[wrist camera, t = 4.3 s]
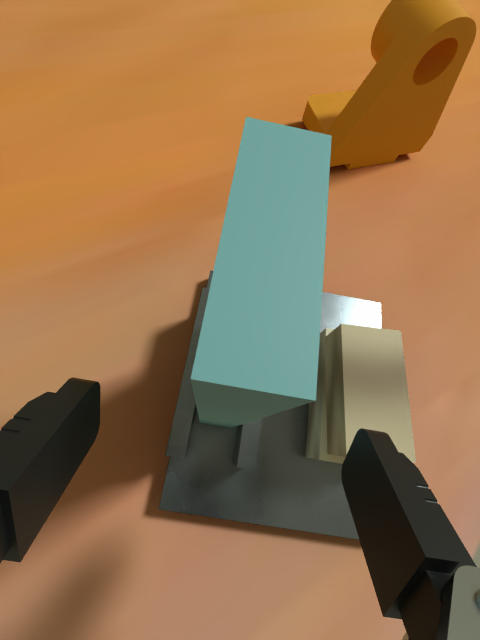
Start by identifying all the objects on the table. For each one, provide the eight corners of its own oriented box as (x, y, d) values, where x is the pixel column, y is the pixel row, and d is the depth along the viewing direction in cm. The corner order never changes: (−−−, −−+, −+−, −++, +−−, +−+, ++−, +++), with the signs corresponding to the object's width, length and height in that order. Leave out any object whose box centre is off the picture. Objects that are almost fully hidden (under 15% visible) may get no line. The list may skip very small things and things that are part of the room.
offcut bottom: (365, 467, 20) (387, 471, 17) (305, 457, 20) (319, 459, 17) (366, 348, 23) (384, 338, 20) (313, 339, 23) (326, 327, 20)
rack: (374, 537, 20) (417, 562, 16) (161, 504, 19) (150, 522, 15) (372, 308, 25) (403, 285, 21) (209, 277, 25) (211, 248, 21)
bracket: (383, 110, 35) (468, -44, 24) (414, 158, 33) (524, 13, 21) (297, 122, 32) (346, -43, 21) (324, 174, 30) (394, 20, 19)
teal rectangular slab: (230, 428, 20) (315, 400, 5) (200, 422, 20) (190, 379, 5) (244, 339, 22) (331, 135, 7) (216, 334, 22) (246, 116, 7)
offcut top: (387, 459, 18) (415, 462, 15) (327, 453, 17) (346, 456, 15) (378, 342, 20) (400, 330, 18) (325, 336, 20) (341, 323, 18)
